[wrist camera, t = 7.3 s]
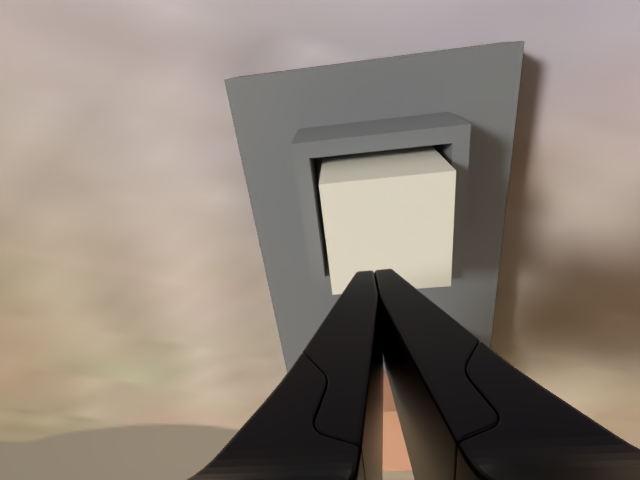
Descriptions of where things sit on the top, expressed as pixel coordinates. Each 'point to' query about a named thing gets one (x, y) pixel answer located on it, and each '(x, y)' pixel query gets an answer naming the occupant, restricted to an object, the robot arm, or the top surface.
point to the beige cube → (389, 215)
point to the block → (371, 136)
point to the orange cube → (392, 434)
